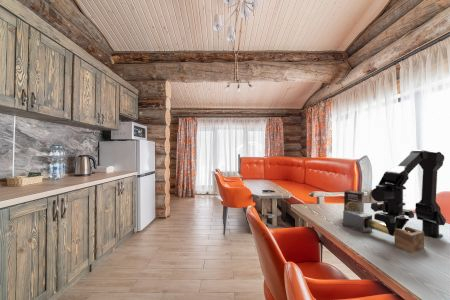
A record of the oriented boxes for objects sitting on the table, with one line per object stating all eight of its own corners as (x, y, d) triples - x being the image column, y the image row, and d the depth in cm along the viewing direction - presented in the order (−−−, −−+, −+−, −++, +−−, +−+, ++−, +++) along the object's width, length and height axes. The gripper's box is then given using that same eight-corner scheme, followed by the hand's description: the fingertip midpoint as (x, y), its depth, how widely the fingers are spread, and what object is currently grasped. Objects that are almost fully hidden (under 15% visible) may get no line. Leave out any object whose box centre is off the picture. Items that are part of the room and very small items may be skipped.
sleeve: (351, 223, 114) (351, 209, 114) (372, 230, 104) (372, 215, 104) (343, 225, 111) (343, 210, 111) (363, 233, 101) (363, 217, 101)
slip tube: (365, 224, 106) (365, 216, 106) (413, 241, 87) (413, 231, 87) (359, 225, 104) (359, 217, 104) (407, 242, 86) (407, 232, 86)
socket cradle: (406, 242, 91) (406, 226, 91) (424, 248, 86) (424, 231, 86) (394, 246, 88) (394, 230, 88) (411, 252, 82) (411, 235, 82)
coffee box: (343, 218, 121) (343, 191, 121) (346, 215, 126) (346, 189, 126) (361, 222, 115) (362, 193, 115) (364, 219, 120) (364, 191, 120)
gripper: (387, 193, 103) (387, 224, 103) (362, 197, 96) (362, 231, 96) (414, 199, 93) (414, 233, 93) (389, 203, 85) (389, 241, 86)
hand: (394, 234), depth 92 cm, fingers closed on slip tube, 4 cm apart
